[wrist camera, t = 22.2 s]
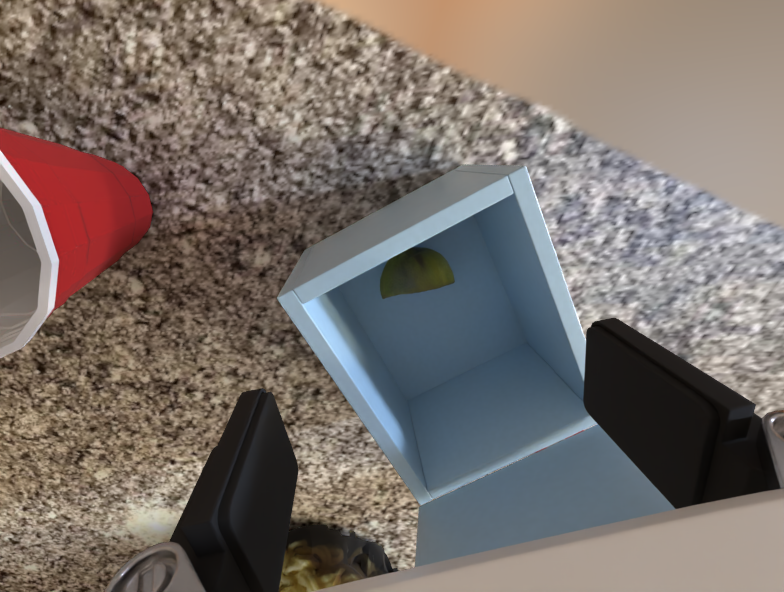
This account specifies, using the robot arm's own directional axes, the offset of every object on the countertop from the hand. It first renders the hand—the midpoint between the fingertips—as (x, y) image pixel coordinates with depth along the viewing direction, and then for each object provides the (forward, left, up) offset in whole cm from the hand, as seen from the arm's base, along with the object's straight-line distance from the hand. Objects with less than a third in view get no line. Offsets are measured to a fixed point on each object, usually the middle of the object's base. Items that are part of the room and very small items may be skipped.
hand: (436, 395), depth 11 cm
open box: (+4, +3, -17) cm, 18 cm away
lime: (+1, +1, -17) cm, 17 cm away
